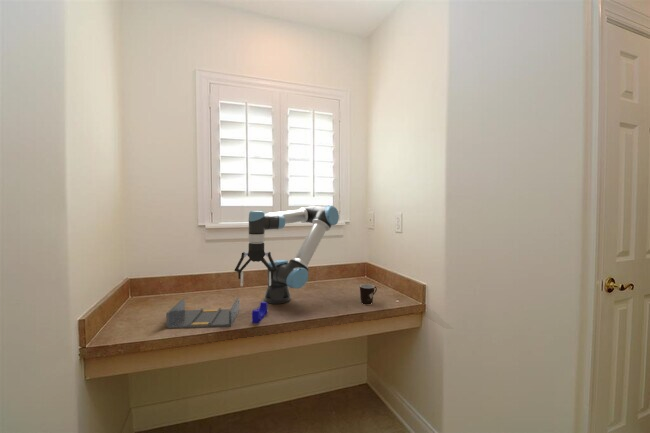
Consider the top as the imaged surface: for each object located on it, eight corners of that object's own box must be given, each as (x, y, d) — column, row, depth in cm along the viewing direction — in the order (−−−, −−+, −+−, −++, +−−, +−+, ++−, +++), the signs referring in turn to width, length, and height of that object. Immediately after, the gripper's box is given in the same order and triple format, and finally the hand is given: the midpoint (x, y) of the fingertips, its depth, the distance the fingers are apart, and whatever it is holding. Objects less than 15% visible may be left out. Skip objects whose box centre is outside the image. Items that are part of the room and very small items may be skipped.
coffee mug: (362, 306, 153) (362, 288, 153) (357, 300, 162) (357, 284, 161) (381, 305, 156) (382, 287, 155) (375, 299, 164) (376, 283, 164)
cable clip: (258, 313, 142) (258, 301, 141) (267, 313, 141) (267, 302, 141) (249, 323, 130) (249, 310, 130) (258, 323, 129) (258, 311, 129)
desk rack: (238, 310, 143) (239, 297, 143) (231, 326, 126) (231, 311, 125) (182, 312, 140) (182, 298, 140) (166, 328, 122) (166, 313, 122)
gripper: (282, 241, 139) (282, 282, 140) (231, 241, 136) (231, 283, 137) (281, 243, 132) (281, 287, 133) (228, 243, 129) (228, 287, 130)
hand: (256, 285), depth 135 cm, fingers open, 13 cm apart
